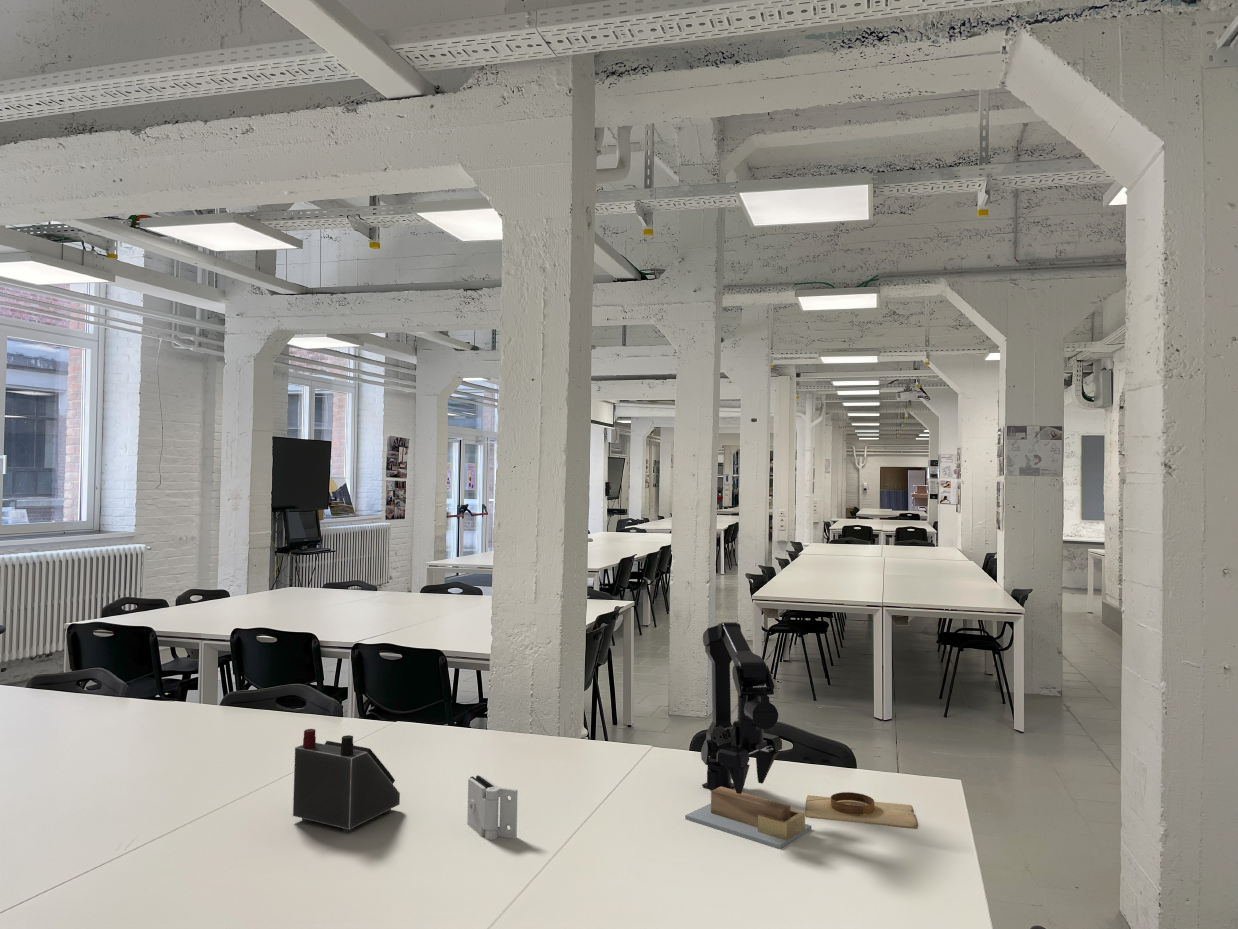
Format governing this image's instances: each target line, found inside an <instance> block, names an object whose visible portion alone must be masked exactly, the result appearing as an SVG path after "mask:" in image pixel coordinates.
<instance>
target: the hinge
mask: <svg viewBox="0 0 1238 929" xmlns="http://www.w3.org/2000/svg"><path fill="white" fill-rule="evenodd" d="M467 781H468V782H467V820H466V821H467V822H466V823H467V824H466V825H467V826H468V827H469V828H471V829H472V830H473V831H475V833H477V834H478V835H479V836H481V837H483V836H484V838H485V839H486V840H496V839H498V837H501V838H506V839H507V838H508V839H512V840H513V839H514V840H515V839H517V836H518V835H517V834H518V832H517V831H518V791H519V790H518V789H515V788H507V787H503V786H498V785H497V784H495V783H494V782H492V781H491V780H490V779H488V778H486V777H485V776H484V775H478V774H477V775H476V776H475V777H474V776H470V777H468V780H467ZM509 797H510V799H509ZM508 827H510V829H509V828H508Z"/></svg>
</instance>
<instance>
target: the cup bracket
mask: <svg viewBox="0 0 1238 929" xmlns="http://www.w3.org/2000/svg"><path fill="white" fill-rule="evenodd" d="M805 824H806V816H805V812H803V811H802V812H801V811H799V810H795V809H793V808H790V819H788V820H786V821H783V820H780V819H776V818H773V817H769V816H766V815H762V814H759V815H758V832H760V833H764V834H767V835H770V836H773V837H777V838H780V839H783V840H786V841H787V840H789V839H790V838H792V837H794V836H795V835H797V834H799V833H800V832H802V831H803V830H805Z"/></svg>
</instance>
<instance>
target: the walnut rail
mask: <svg viewBox="0 0 1238 929" xmlns="http://www.w3.org/2000/svg"><path fill="white" fill-rule="evenodd" d="M710 803H711V813H712V814H715V815H719V816H722V817H725V818H729V819H732V820H735V821H738V822H742V823H745V824H748V825H752V826H755V827H758V815H759V814H762V815H766V816H769V817H773V818H776V819H780V820H783V821H786V820H788V819H790V809H791V808H792V807H791V805H789V804H785V803H782V802H779V801H778V802H777V801H776V800H775V801H774V800H771V799H767V798H764V797H760V796H758V795H753V794H749V793H746V792H743V791H742V793H741V794H738V793H736V790H735V789H733V788H732V789H729V788H725V787H718V788H716V789H714V790H713V789H711V790H710Z"/></svg>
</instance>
